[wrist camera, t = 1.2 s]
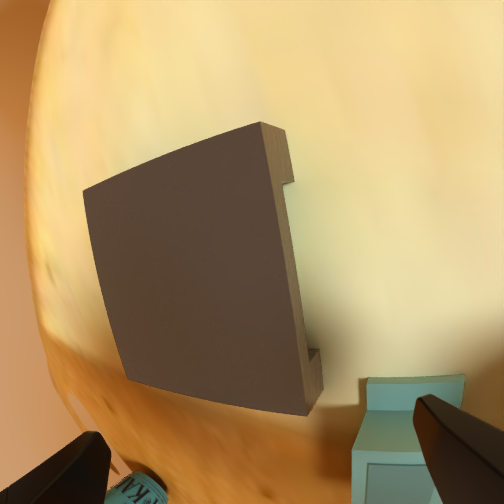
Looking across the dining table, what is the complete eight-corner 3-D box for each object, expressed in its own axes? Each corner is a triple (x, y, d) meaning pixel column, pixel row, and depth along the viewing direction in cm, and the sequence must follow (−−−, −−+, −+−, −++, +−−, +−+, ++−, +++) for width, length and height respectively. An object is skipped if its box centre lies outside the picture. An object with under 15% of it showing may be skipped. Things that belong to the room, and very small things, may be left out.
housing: (437, 495, 16) (428, 540, 12) (366, 493, 19) (349, 536, 15) (464, 373, 15) (468, 423, 11) (368, 377, 18) (350, 424, 14)
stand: (323, 389, 19) (307, 416, 17) (151, 364, 27) (127, 379, 25) (284, 130, 17) (260, 121, 15) (111, 188, 25) (82, 190, 23)
